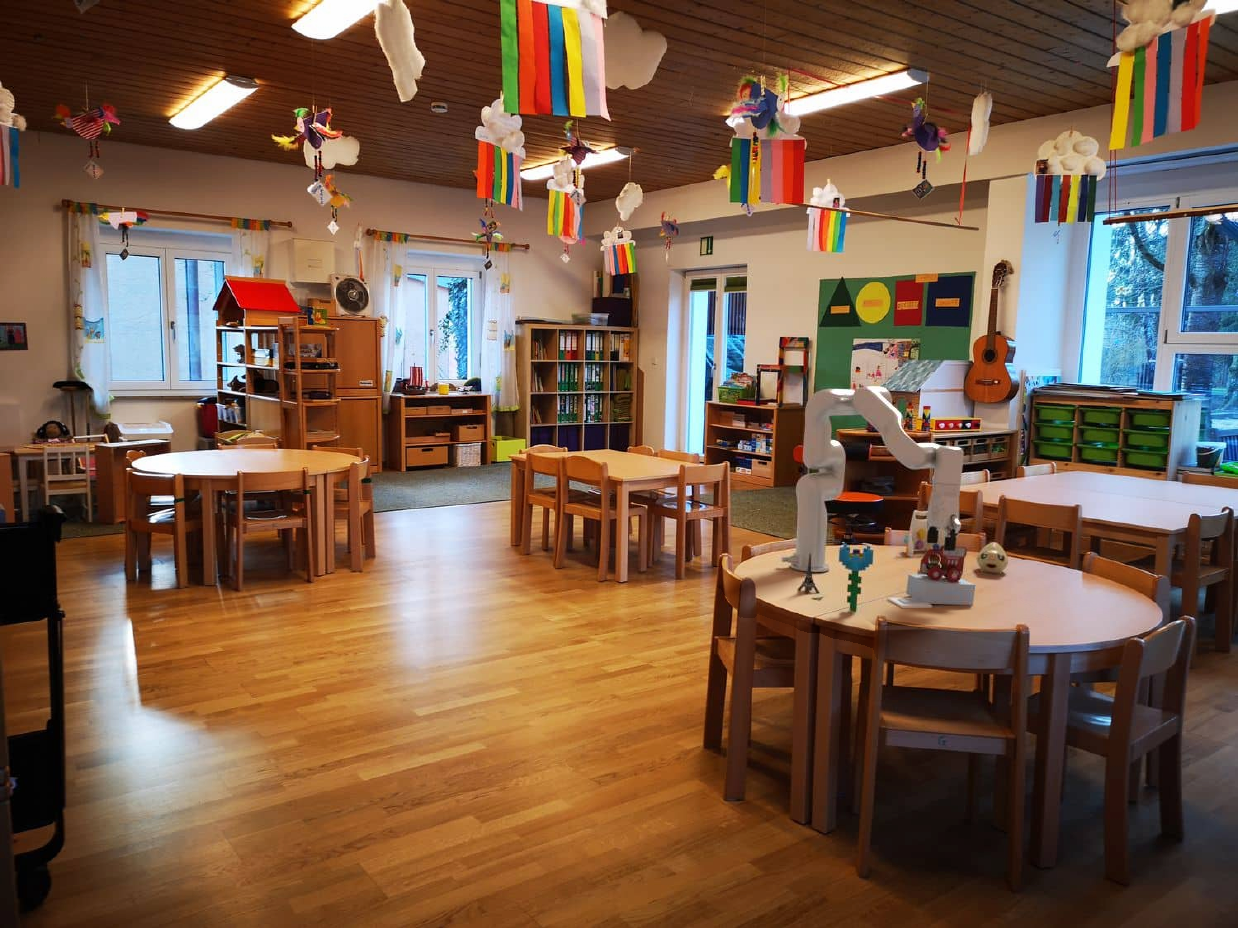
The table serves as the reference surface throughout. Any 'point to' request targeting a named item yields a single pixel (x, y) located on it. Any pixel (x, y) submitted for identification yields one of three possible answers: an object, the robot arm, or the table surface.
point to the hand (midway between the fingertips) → (940, 546)
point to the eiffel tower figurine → (809, 581)
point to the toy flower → (855, 570)
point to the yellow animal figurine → (992, 558)
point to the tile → (909, 603)
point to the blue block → (940, 590)
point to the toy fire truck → (943, 563)
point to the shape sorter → (921, 535)
